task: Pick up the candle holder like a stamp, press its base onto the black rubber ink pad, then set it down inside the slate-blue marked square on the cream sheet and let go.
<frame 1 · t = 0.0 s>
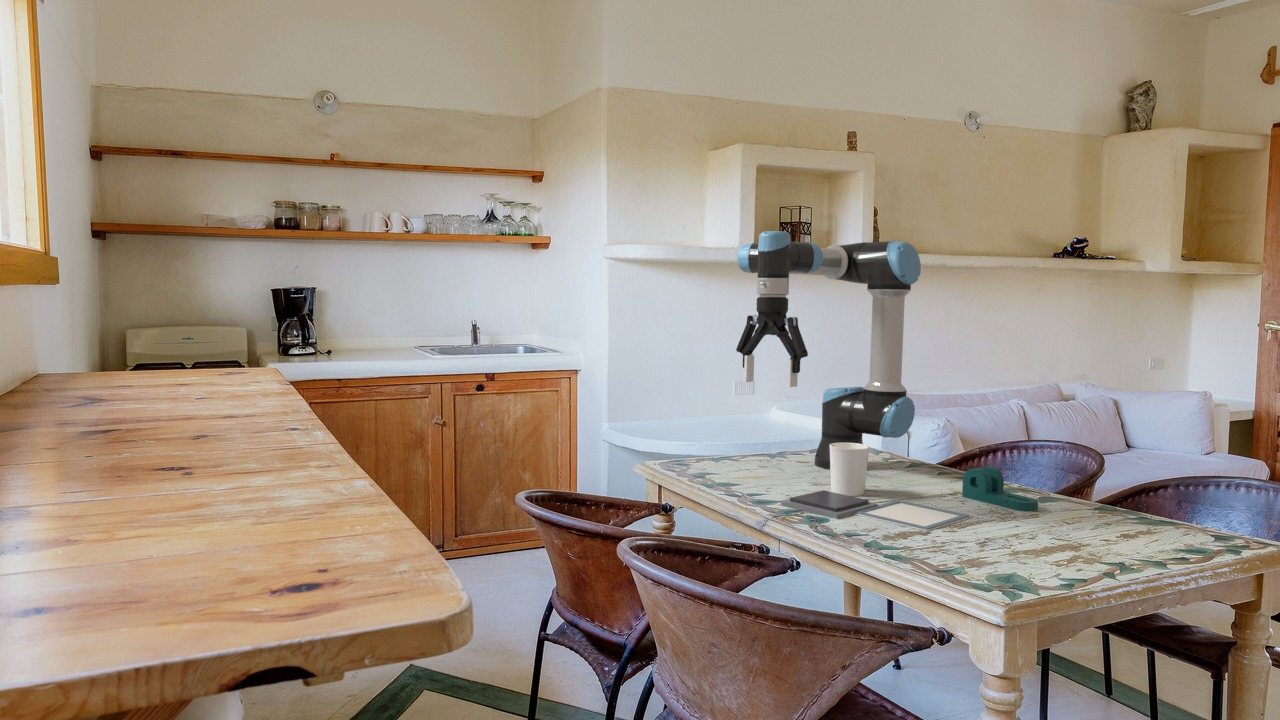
hand: (770, 384, 214), 28 cm above the table, fingers open, 13 cm apart
bracket: (1001, 504, 216), on the table
marked square: (911, 515, 202), on the table
candle holder: (847, 493, 224), on the table
ink pad: (829, 506, 209), on the table
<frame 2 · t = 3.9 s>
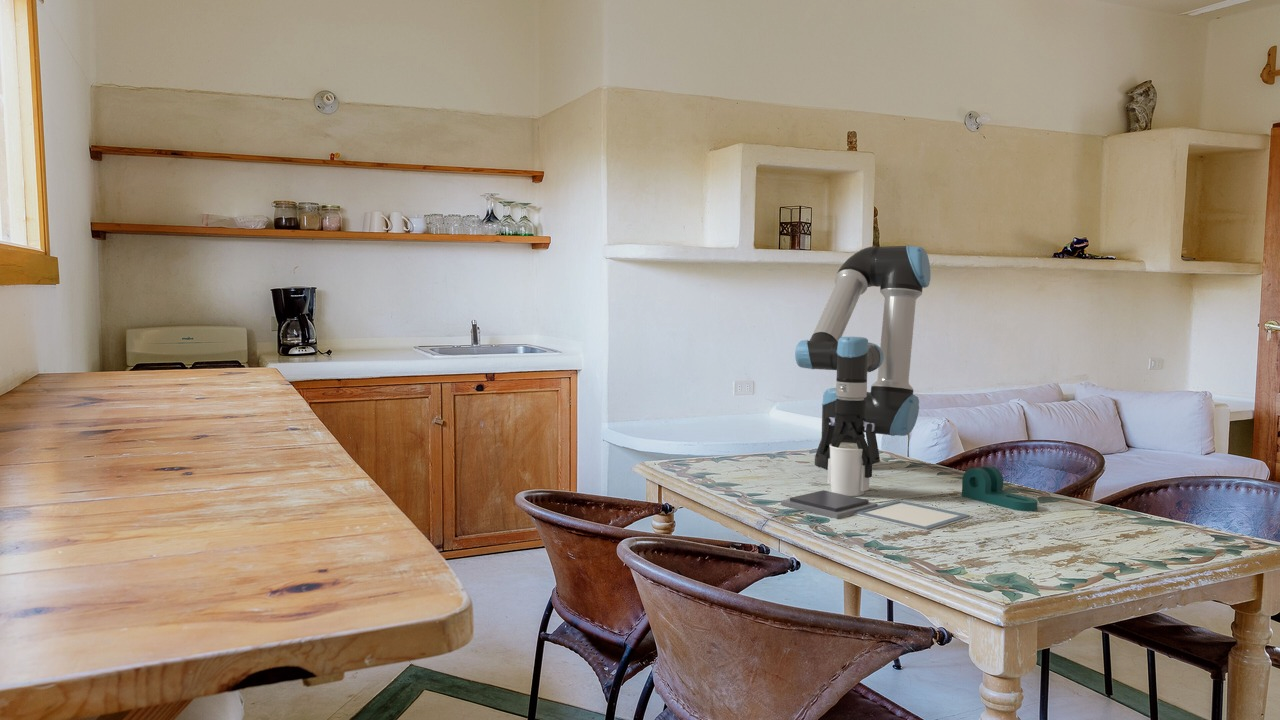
hand: (847, 486, 224), 2 cm above the table, fingers closed on candle holder, 9 cm apart
candle holder: (847, 493, 224), on the table, touching gripper
everything else where it was.
when the fingers open (3 cm above the table, at t = 14.9 s): candle holder drops 1 cm, resting on marked square.
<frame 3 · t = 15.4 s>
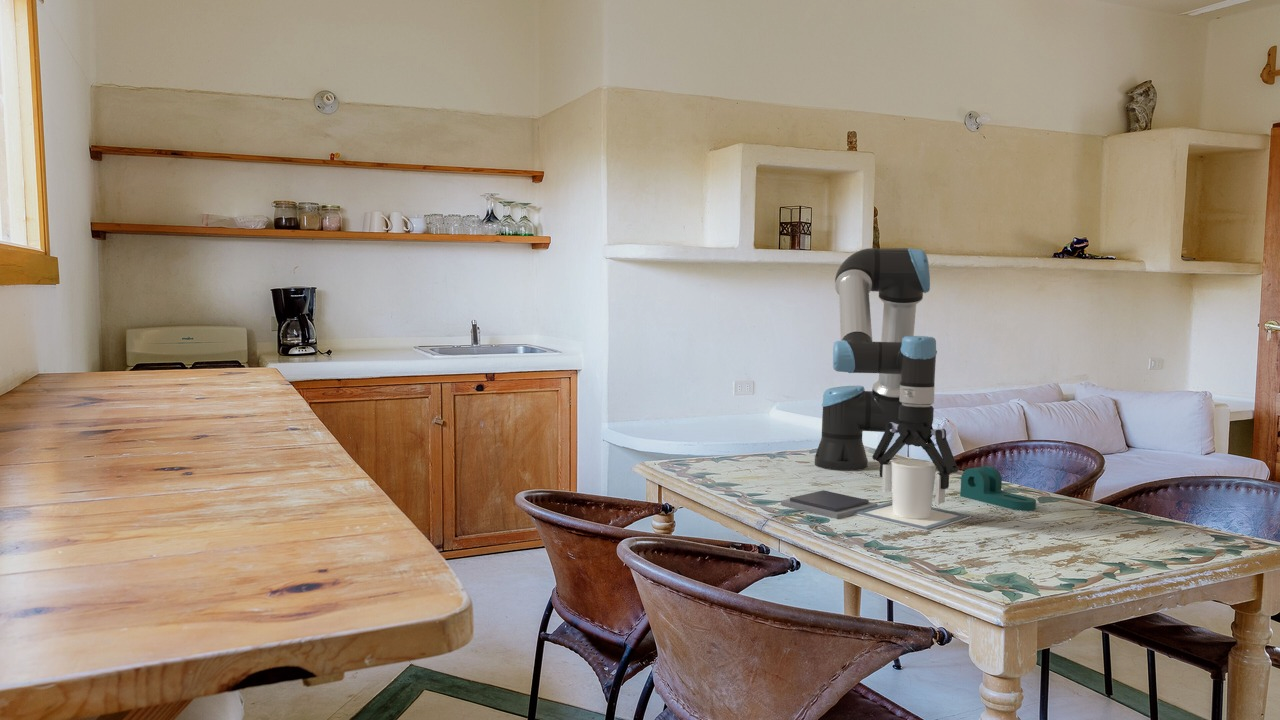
hand: (912, 497, 202), 4 cm above the table, fingers open, 13 cm apart
candle holder: (911, 515, 202), resting on marked square
everything else where it was.
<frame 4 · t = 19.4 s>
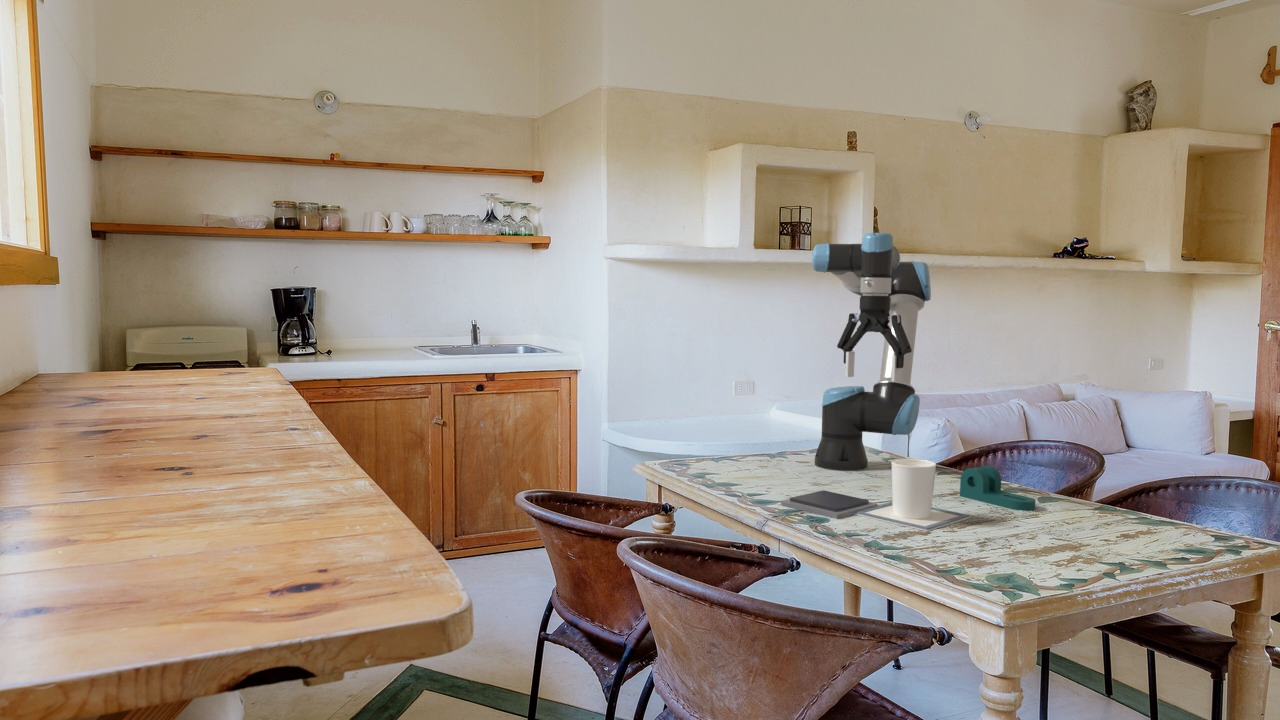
hand: (872, 379, 225), 29 cm above the table, fingers open, 13 cm apart
nothing on the table moved.
at the end: candle holder inside the target area on the marked square (0.1 cm from its centre), point 0.0 cm above the marked square's base; candle holder tilted 0°; the gripper is holding nothing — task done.
